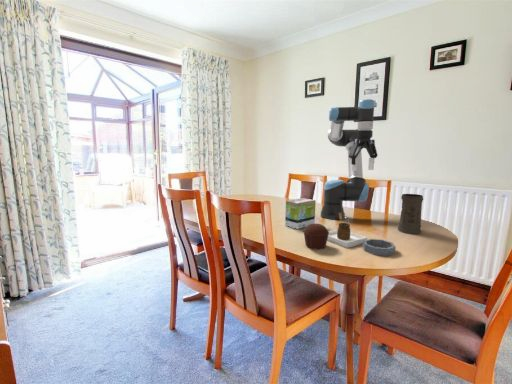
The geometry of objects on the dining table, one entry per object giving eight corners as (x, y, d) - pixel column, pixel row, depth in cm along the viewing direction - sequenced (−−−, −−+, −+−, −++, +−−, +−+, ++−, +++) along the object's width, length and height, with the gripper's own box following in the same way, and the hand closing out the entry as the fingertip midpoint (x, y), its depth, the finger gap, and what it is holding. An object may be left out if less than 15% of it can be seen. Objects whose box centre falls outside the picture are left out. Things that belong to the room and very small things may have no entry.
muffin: (313, 240, 133) (314, 219, 132) (333, 246, 125) (334, 224, 123) (297, 245, 126) (298, 224, 124) (317, 252, 117) (318, 229, 116)
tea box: (298, 229, 150) (298, 203, 148) (284, 225, 157) (285, 200, 155) (315, 224, 160) (316, 199, 157) (301, 221, 167) (302, 197, 165)
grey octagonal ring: (357, 248, 122) (358, 242, 121) (375, 243, 128) (375, 237, 127) (382, 257, 112) (382, 250, 111) (400, 252, 118) (400, 245, 117)
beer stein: (424, 235, 140) (427, 195, 138) (401, 233, 142) (404, 195, 140) (413, 228, 155) (416, 193, 153) (393, 227, 157) (395, 192, 155)
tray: (320, 238, 136) (320, 233, 136) (340, 233, 143) (340, 228, 143) (346, 248, 122) (346, 242, 122) (367, 242, 129) (367, 237, 129)
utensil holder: (343, 241, 129) (344, 216, 127) (334, 237, 134) (335, 213, 132) (352, 239, 131) (354, 214, 129) (343, 235, 137) (344, 211, 135)
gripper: (354, 129, 137) (352, 171, 140) (386, 130, 149) (383, 169, 153) (342, 129, 143) (341, 170, 146) (374, 131, 156) (371, 168, 159)
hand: (362, 170), depth 150 cm, fingers open, 13 cm apart
